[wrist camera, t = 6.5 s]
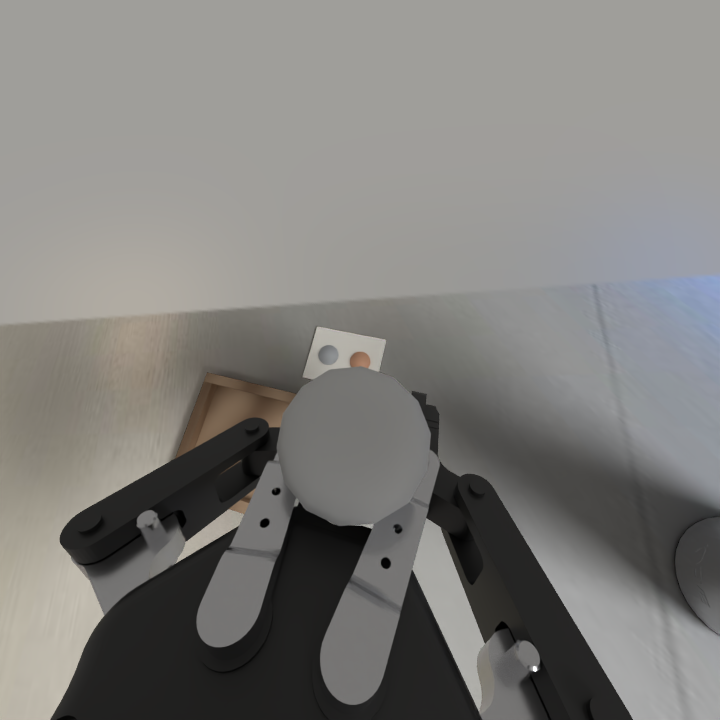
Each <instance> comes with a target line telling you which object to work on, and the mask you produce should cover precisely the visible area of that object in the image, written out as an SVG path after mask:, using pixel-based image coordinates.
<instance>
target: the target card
mask: <svg viewBox="0 0 720 720" xmlns="http://www.w3.org/2000/svg"><path fill="white" fill-rule="evenodd" d="M385 344H386V340H384V339H379V338H374V337H369V336H364V335H359V334H353V333H348V332H343V331H338V330H333V329H328V328H323V327H317V329H316V333H315V336H314V339H313V343H312V346H311V350H310V353H309V356H308V360H307V363H306V367H305V370H304V373H303V378H307V379H311V380H313V379H315V378H317V377H318V376H320V375H321V374H323V373H325V372H326V371H328V370H330V369H339V368H349V367H359V366H362V367H365V368H368V369H371V370H374V371H377V372H379V370H380V366H381V362H382V357H383V353H384V349H385Z"/></svg>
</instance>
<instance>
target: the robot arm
mask: <svg viewBox="0 0 720 720" xmlns="http://www.w3.org/2000/svg"><path fill="white" fill-rule="evenodd" d="M411 395H412V396H413V397H414V398H415V399H416V400H417V401H418V402H419V405H420V407H421V410H422V412H423V415H424V417H425V420H426V422H427V425H428V428H429V430H430V433H431V439H430V450H429V461H428V470H427V472H426V474H425V476H424V477H423V479H422V481H421V483H420V485H419V486H418V488H417V490H416V492H415V493H414V495H413V497H412V499H411V500H410V502H409V503H408V504H406V505H404V506H403V507H401V508H400V509H398V510H396V511H395V512H393V513H391V514H390V515H388V516H387V517H385V518H383V519H382V520H380V521H378V522H377V523H374V526H373V528H372V529H370V528H367V527H364V526H352V525H347V526H338V525H334V524H332V523H330V522H329V521H327V520H325V519H323V518H321V517H319V516H317V515H315V514H313V513H311V512H309V511H307V510H306V509H305V508H304V507H303V506H302V504H301V503H300V502H299V501H298V499H297V498H296V497H295V496H294V494H293V493H292V492H291V491H290V489H289V488H288V487H287V486H286V484H285V483H284V481H283V476H282V471H281V466H280V462H279V457H278V452H277V442H278V437H279V432H280V427H269V424H268V422H267V421H266V420H264V419H262V418H258V417H253V418H248V419H245V420H243V421H241V422H240V423H238V424H236V425H234V426H233V427H231V428H229V429H227V430H225V431H224V432H222V433H220V434H218V435H217V436H215V437H213V438H211V439H209V440H208V441H206V442H204V443H202V444H201V445H199V446H197V447H195V448H193V449H192V450H190V451H188V452H186V453H185V454H183V455H181V456H179V457H177V458H176V459H174V460H172V461H170V462H169V463H167V464H165V465H163V466H161V467H160V468H158V469H156V470H154V471H153V472H151V473H149V474H147V475H145V476H144V477H142V478H140V479H138V480H137V481H135V482H133V483H131V484H129V485H128V486H126V487H124V488H122V489H121V490H119V491H117V492H115V493H113V494H112V495H110V496H108V497H106V498H105V499H103V500H101V501H99V502H98V503H96V504H94V505H92V506H90V507H89V508H87V509H85V510H83V511H82V512H80V513H79V514H77V515H76V516H75V517H73V518H72V519H71V520H70V521H69V522H68V523H67V525H66V526H65V527H64V529H63V530H62V532H61V535H60V543H61V545H62V546H63V548H64V549H65V550H66V551H67V552H68V553H69V555H70V556H71V559H72V561H73V562H74V563H75V565H76V566H77V567H78V568H79V569H80V570H81V571H82V573H83V574H84V575H85V576H86V577H87V578H88V579H89V580H90V582H91V584H92V587H93V589H94V591H95V594H96V596H97V599H98V601H99V603H100V606H101V608H102V611H103V613H104V615H105V616H104V617H103V618H102V619H101V621H100V622H99V623H98V625H97V626H96V628H95V629H94V631H93V633H92V634H91V636H90V638H89V640H88V642H87V644H86V646H85V648H84V650H83V653H82V655H81V658H80V660H79V663H78V666H77V668H76V671H75V673H74V676H73V678H72V680H71V682H70V685H69V687H68V689H67V691H66V693H65V695H64V696H63V698H62V700H61V702H60V704H59V706H58V707H57V709H56V711H55V713H54V714H53V716H52V718H51V719H50V720H633V719H632V717H631V715H630V714H629V712H628V710H627V709H626V707H625V705H624V704H623V702H622V700H621V699H620V697H619V695H618V694H617V692H616V690H615V689H614V687H613V685H612V684H611V682H610V680H609V679H608V677H607V675H606V674H605V672H604V670H603V669H602V667H601V665H600V664H599V662H598V660H597V659H596V657H595V656H594V654H593V652H592V651H591V649H590V647H589V646H588V644H587V642H586V641H585V639H584V637H583V636H582V634H581V632H580V631H579V629H578V627H577V626H576V624H575V622H574V621H573V619H572V617H571V616H570V614H569V612H568V611H567V609H566V607H565V606H564V604H563V602H562V601H561V599H560V598H559V596H558V594H557V593H556V591H555V589H554V588H553V586H552V584H551V583H550V581H549V579H548V578H547V576H546V574H545V573H544V571H543V569H542V568H541V566H540V564H539V563H538V561H537V559H536V558H535V556H534V554H533V553H532V551H531V549H530V548H529V546H528V545H527V543H526V541H525V540H524V538H523V536H522V535H521V533H520V531H519V530H518V528H517V526H516V525H515V523H514V521H513V520H512V518H511V516H510V515H509V513H508V511H507V510H506V508H505V506H504V505H503V503H502V501H501V500H500V498H499V496H498V495H497V493H496V491H495V490H494V488H493V487H492V485H491V484H490V483H489V482H488V481H487V480H485V479H484V478H482V477H480V476H478V475H475V474H465V475H463V476H461V477H459V476H457V475H456V474H454V473H452V472H450V471H449V470H447V469H446V468H445V467H444V466H443V465H442V464H441V462H440V460H439V458H438V433H439V430H438V429H439V413H438V411H437V409H436V407H435V406H431V405H426V395H427V394H424V393H419V392H415V391H412V394H411ZM240 460H241V461H240ZM239 461H240V462H239ZM237 462H238V463H237ZM236 463H237V464H236ZM234 464H235V465H234ZM233 465H234V466H233ZM231 466H232V467H231ZM230 467H231V468H230ZM228 468H229V469H228ZM227 469H228V470H227ZM225 470H226V471H225ZM224 471H225V472H224ZM222 472H223V473H222ZM221 473H222V474H221ZM255 488H256V489H255ZM254 489H255V491H254V493H253V496H252V498H251V500H250V502H249V505H248V507H247V509H246V512H245V514H244V516H243V518H242V521H241V523H240V525H239V526H238V527H236V528H235V529H233V530H231V531H230V532H228V533H226V534H225V535H223V536H221V537H220V538H218V539H216V540H215V541H213V542H211V543H209V544H208V545H206V546H204V547H203V548H201V549H199V550H198V551H196V552H194V553H193V554H191V555H189V556H188V557H186V558H184V559H183V560H181V561H179V562H178V563H176V562H177V559H178V557H179V556H180V554H181V553H182V551H183V549H184V546H185V542H186V541H187V540H189V539H190V538H191V537H193V536H194V535H195V534H197V533H198V532H199V531H200V530H202V529H203V528H204V527H206V526H207V525H208V524H210V523H211V522H212V521H213V520H215V519H216V518H217V517H219V516H220V515H221V514H223V513H224V512H225V511H227V510H228V509H229V508H230V507H232V506H233V505H234V504H236V503H237V502H238V501H240V500H241V499H242V498H243V497H245V496H246V495H247V494H249V493H250V492H251V491H253V490H254ZM426 518H427V519H429V520H431V521H432V522H434V523H435V524H437V525H438V526H440V527H441V530H442V533H443V536H444V538H445V541H446V543H447V546H448V549H449V551H450V554H451V557H452V559H453V562H454V564H455V567H456V570H457V572H458V575H459V577H460V580H461V583H462V585H463V588H464V590H465V593H466V596H467V598H468V601H469V603H470V606H471V609H472V611H473V614H474V616H475V619H476V622H477V624H478V627H479V629H480V632H481V635H482V637H483V640H484V642H485V645H484V646H483V647H482V648H481V650H480V651H479V654H478V658H477V670H478V676H479V680H480V684H481V690H482V702H481V707H480V711H478V709H477V707H476V705H475V703H474V700H473V698H472V696H471V694H470V692H469V690H468V688H467V685H466V683H465V681H464V679H463V677H462V675H461V673H460V670H459V668H458V666H457V664H456V662H455V660H454V658H453V655H452V653H451V651H450V649H449V647H448V645H447V643H446V640H445V638H444V636H443V634H442V632H441V630H440V628H439V625H438V623H437V621H436V619H435V617H434V615H433V613H432V610H431V608H430V606H429V604H428V602H427V600H426V598H425V595H424V593H423V591H422V589H421V587H420V585H419V583H418V580H417V578H416V576H415V574H414V572H413V570H412V568H413V564H414V560H415V557H416V553H417V549H418V546H419V542H420V538H421V535H422V531H423V527H424V524H425V520H426ZM175 563H176V564H175ZM675 567H676V575H677V579H678V582H679V585H680V588H681V591H682V592H683V594H684V596H685V598H686V600H687V602H688V604H689V605H690V606H691V608H692V609H693V611H694V612H695V613H696V615H697V616H698V617H699V618H700V619H701V620H702V621H703V622H704V623H705V624H706V625H707V626H708V627H709V628H710V629H712V630H713V631H714V632H716V633H717V634H719V635H720V517H713V518H707V519H704V520H702V521H699V522H697V523H695V524H694V525H693V526H691V527H690V528H689V529H687V531H686V532H685V533H684V535H683V536H682V537H681V539H680V541H679V544H678V547H677V549H676V557H675Z"/></svg>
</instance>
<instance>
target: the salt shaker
mask: <svg viewBox="0 0 720 720" xmlns="http://www.w3.org/2000/svg"><path fill="white" fill-rule="evenodd" d="M430 439H431V433H430V430H429V428H428V425H427V422H426V420H425V417H424V415H423V412H422V410H421V407H420V405H419V402H418V401H417V400H416V399H415V398H414V397H413V396H412V395H411V394H410V393H409V392H408V391H407V390H406V389H405V388H404V387H403V386H402V385H401V384H400V383H399V382H398V381H397V380H396V379H395V378H394V377H392V376H390V375H386V374H383V373H380V372H377V371H374V370H371V369H368V368H365V367H362V366H359V367H349V368H339V369H330V370H328V371H326V372H325V373H323V374H321V375H320V376H318V377H317V378H315V379H313V380H312V381H310V382H309V383H307V384H305V385H304V386H302V387H301V389H300V390H299V392H298V393H297V394H296V396H295V397H294V399H293V400H292V402H291V403H290V404H289V406H288V407H287V409H286V410H285V411H284V413H283V416H282V421H281V426H280V432H279V437H278V442H277V452H278V457H279V462H280V466H281V471H282V476H283V481H284V483H285V484H286V486H287V487H288V488H289V489H290V491H291V492H292V493H293V494H294V496H295V497H296V498H297V499H298V501H299V502H300V503H301V504H302V506H303V507H304V508H305V509H306V510H307V511H309V512H311V513H313V514H315V515H317V516H319V517H321V518H323V519H325V520H327V521H329V522H331V523H333V524H335V525H338V526H347V525H360V524H373V523H377V522H378V521H380V520H382V519H383V518H385V517H387V516H388V515H390V514H391V513H393V512H395V511H396V510H398V509H400V508H401V507H403V506H404V505H406V504H408V503H409V502H410V500H411V499H412V497H413V495H414V493H415V492H416V490H417V488H418V486H419V485H420V483H421V481H422V479H423V477H424V476H425V474H426V472H427V470H428V461H429V450H430Z"/></svg>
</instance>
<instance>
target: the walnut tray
mask: <svg viewBox="0 0 720 720" xmlns="http://www.w3.org/2000/svg"><path fill="white" fill-rule="evenodd" d="M295 396H296V394H295V393H291V392H287V391H283V390H278V389H274V388H270V387H266V386H262V385H258V384H253V383H249V382H245V381H241V380H237V379H233V378H228V377H224V376H220V375H216V374H212V373H208V372H207V374H206V377H205V380H204V382H203V385H202V388H201V390H200V393H199V396H198V398H197V401H196V404H195V407H194V409H193V412H192V415H191V417H190V420H189V423H188V425H187V428H186V431H185V433H184V436H183V439H182V442H181V444H180V447H179V450H178V452H177V455H176V458H177V457H179V456H181V455H183V454H185V453H186V452H188V451H190V450H192V449H193V448H195V447H197V446H199V445H201V444H202V443H204V442H206V441H208V440H209V439H211V438H213V437H215V436H217V435H218V434H220V433H222V432H224V431H225V430H227V429H229V428H231V427H233V426H234V425H236V424H238V423H240V422H241V421H243V420H245V419H248V418H253V417H258V418H262V419H264V420H266V421H267V422H268V424H269V427H280V426H281V421H282V416H283V413H284V411H285V410H286V409H287V407H288V406H289V404H290V403H291V402H292V400H293V399H294V397H295ZM176 458H175V459H176ZM240 461H241V460H240ZM240 461H239V462H240ZM237 463H238V462H237ZM237 463H236V464H237ZM234 465H235V464H234ZM234 465H233V466H234ZM231 467H232V466H231ZM231 467H230V468H231ZM228 469H229V468H228ZM228 469H227V470H228ZM225 471H226V470H225ZM225 471H224V472H225ZM222 473H223V472H222ZM222 473H221V474H222ZM255 489H256V488H255ZM255 489H254V490H253V491H251V492H250V493H249V494H247V495H246V496H245V497H243V498H242V499H241V500H240V501H238V502H237V503H236V504H234V505H233V506H232V507H230V508H229V509H231V510H234V511H237V512H240V513H243V514H245V512H246V509H247V507H248V505H249V502H250V500H251V498H252V496H253V493H254V491H255Z"/></svg>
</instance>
